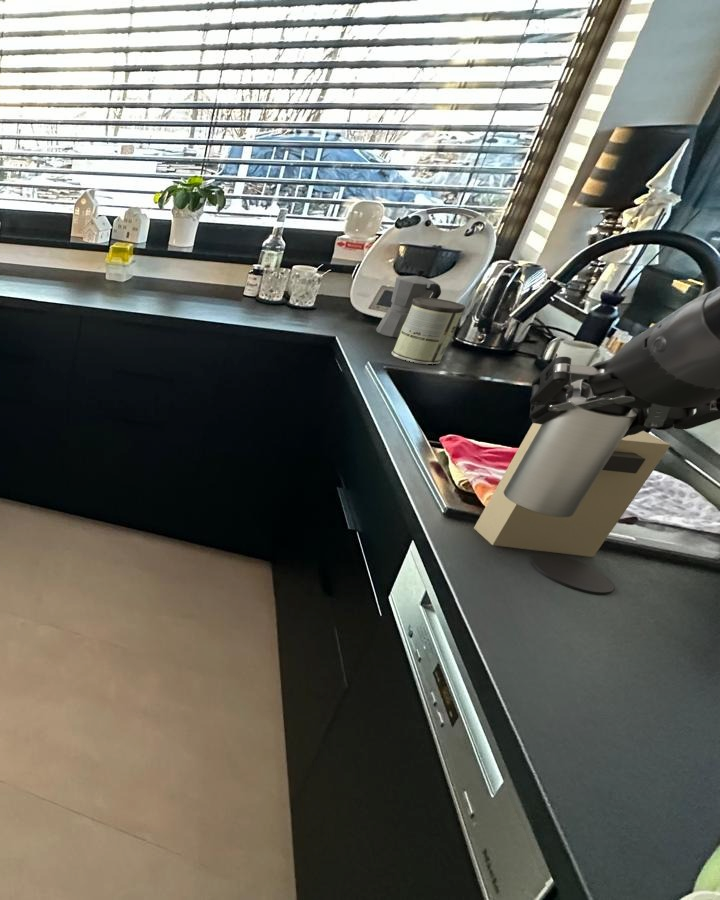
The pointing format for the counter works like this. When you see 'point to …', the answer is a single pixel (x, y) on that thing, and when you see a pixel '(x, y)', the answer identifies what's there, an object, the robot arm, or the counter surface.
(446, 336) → the coffee can
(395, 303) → the coffeepot
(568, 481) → the grey canister
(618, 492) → the coffee maker
